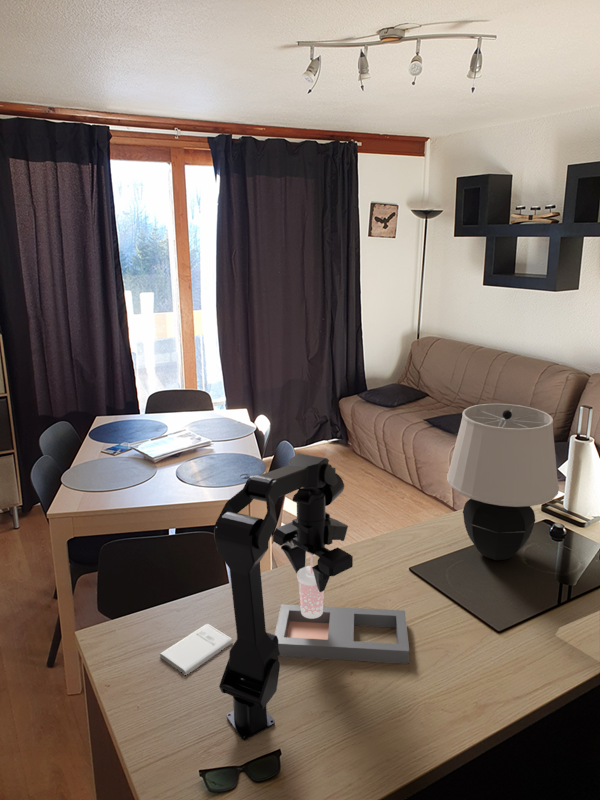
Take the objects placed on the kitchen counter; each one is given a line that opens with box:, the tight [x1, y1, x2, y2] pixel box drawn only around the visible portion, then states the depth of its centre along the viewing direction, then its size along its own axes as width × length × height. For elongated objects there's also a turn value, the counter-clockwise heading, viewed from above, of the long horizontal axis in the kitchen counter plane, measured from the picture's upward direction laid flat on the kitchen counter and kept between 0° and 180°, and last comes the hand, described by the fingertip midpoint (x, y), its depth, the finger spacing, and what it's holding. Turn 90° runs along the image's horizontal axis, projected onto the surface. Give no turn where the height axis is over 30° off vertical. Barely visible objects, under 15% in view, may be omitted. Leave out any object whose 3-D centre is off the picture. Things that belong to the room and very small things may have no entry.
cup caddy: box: [274, 603, 410, 665], centre depth 124 cm, size 27×13×3 cm, turn 84°
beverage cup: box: [296, 553, 325, 619], centre depth 122 cm, size 6×6×14 cm
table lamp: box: [446, 403, 560, 561], centre depth 150 cm, size 27×27×40 cm
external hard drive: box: [159, 623, 233, 676], centre depth 122 cm, size 2×8×12 cm
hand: (311, 584), depth 122 cm, fingers closed on beverage cup, 6 cm apart
